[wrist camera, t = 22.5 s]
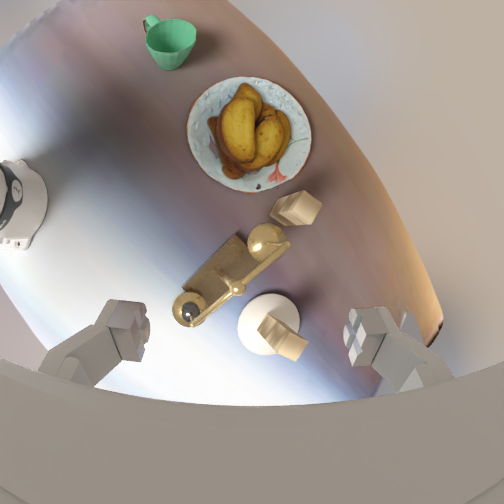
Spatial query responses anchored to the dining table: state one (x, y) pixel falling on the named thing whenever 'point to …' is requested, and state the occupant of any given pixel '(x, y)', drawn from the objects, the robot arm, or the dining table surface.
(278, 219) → the column
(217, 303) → the balance
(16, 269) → the dining table surface
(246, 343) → the dish
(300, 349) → the column
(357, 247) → the dining table surface
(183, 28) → the mug
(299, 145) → the food on plate
